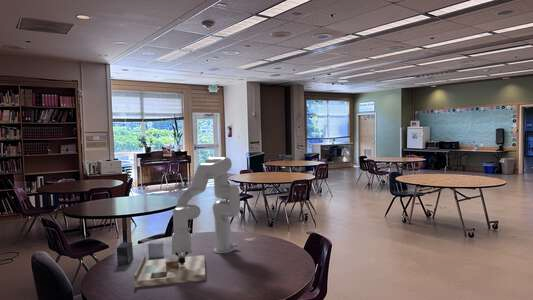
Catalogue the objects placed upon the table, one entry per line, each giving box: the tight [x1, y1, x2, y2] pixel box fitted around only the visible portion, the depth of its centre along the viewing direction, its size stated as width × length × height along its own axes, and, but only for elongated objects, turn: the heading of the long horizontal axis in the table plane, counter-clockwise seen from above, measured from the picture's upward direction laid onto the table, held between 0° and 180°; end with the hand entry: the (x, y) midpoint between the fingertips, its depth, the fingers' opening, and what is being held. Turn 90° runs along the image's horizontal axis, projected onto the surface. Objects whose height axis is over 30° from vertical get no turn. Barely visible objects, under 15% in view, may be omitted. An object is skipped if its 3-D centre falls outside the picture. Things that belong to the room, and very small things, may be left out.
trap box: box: [133, 254, 206, 288], centre depth 195 cm, size 34×30×6 cm
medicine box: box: [147, 241, 165, 258], centre depth 222 cm, size 8×4×9 cm, turn 84°
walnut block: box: [166, 256, 179, 270], centre depth 195 cm, size 6×6×4 cm
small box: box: [116, 241, 134, 266], centre depth 214 cm, size 11×6×10 cm, turn 5°
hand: (182, 264), depth 196 cm, fingers closed
